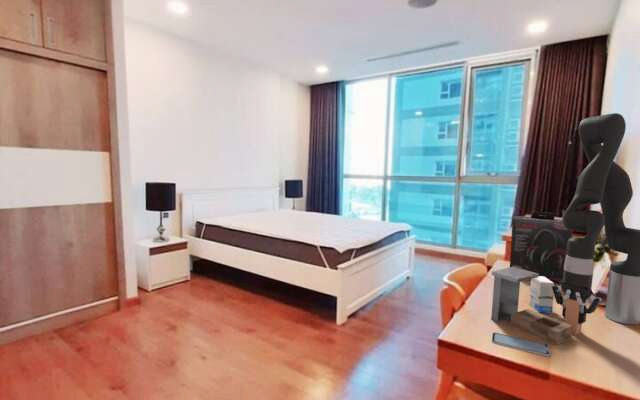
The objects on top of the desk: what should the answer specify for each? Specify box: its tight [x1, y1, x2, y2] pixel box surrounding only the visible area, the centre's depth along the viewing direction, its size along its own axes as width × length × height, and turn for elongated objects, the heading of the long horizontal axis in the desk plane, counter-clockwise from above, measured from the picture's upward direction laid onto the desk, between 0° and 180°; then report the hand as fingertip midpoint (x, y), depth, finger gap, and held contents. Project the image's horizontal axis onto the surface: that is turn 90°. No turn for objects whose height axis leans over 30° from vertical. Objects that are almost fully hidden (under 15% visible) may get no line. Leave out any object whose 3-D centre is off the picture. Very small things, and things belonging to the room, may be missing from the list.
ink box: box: [528, 276, 555, 314], centre depth 128 cm, size 9×5×12 cm, turn 168°
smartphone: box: [491, 332, 551, 357], centre depth 101 cm, size 7×1×15 cm
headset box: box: [509, 211, 574, 285], centre depth 164 cm, size 25×12×33 cm, turn 54°
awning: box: [490, 266, 539, 323], centre depth 117 cm, size 13×9×17 cm
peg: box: [564, 298, 583, 335], centre depth 110 cm, size 4×4×11 cm
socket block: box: [509, 308, 573, 346], centre depth 109 cm, size 10×14×4 cm
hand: (573, 320), depth 110 cm, fingers closed on peg, 3 cm apart
